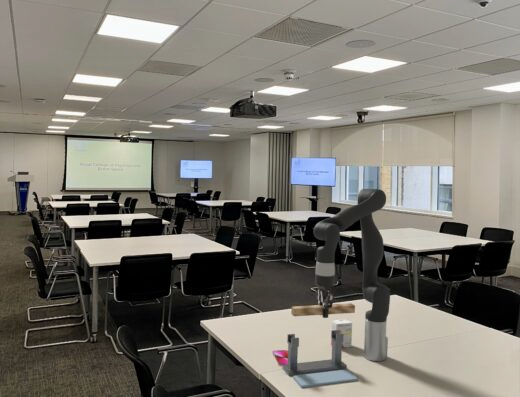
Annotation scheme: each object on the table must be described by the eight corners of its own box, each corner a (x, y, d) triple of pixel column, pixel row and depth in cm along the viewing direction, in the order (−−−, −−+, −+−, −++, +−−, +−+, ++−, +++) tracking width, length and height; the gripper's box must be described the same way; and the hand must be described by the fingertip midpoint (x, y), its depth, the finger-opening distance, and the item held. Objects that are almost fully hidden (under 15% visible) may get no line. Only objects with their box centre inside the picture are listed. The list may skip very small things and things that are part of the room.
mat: (347, 371, 181) (347, 369, 181) (357, 380, 173) (357, 378, 173) (292, 377, 174) (292, 375, 174) (301, 387, 166) (301, 385, 166)
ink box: (335, 348, 205) (336, 323, 205) (330, 344, 210) (331, 320, 209) (351, 347, 208) (352, 322, 207) (346, 343, 212) (347, 319, 212)
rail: (351, 310, 180) (351, 303, 180) (354, 312, 177) (354, 305, 177) (291, 314, 172) (291, 306, 172) (294, 316, 170) (294, 308, 170)
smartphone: (278, 365, 184) (271, 350, 199) (278, 367, 185) (271, 352, 199) (295, 364, 186) (287, 349, 200) (295, 366, 186) (287, 352, 201)
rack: (338, 361, 190) (339, 328, 189) (346, 368, 183) (347, 334, 183) (282, 368, 182) (283, 333, 182) (288, 375, 176) (289, 339, 175)
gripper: (341, 276, 168) (340, 321, 169) (326, 269, 182) (324, 310, 183) (323, 277, 166) (322, 322, 167) (309, 269, 180) (307, 311, 180)
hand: (323, 316), depth 175 cm, fingers closed on rail, 3 cm apart
